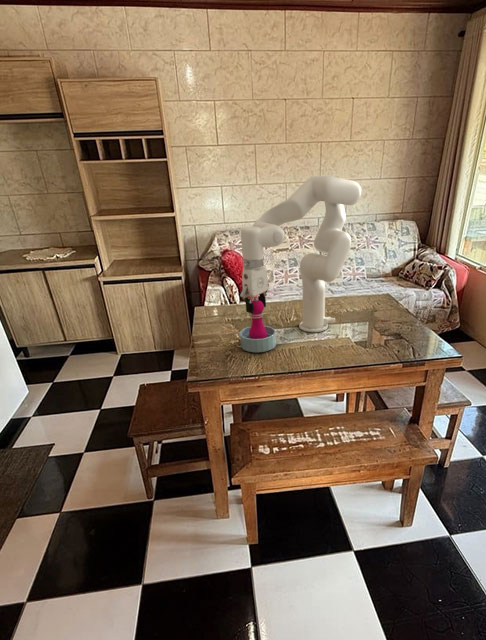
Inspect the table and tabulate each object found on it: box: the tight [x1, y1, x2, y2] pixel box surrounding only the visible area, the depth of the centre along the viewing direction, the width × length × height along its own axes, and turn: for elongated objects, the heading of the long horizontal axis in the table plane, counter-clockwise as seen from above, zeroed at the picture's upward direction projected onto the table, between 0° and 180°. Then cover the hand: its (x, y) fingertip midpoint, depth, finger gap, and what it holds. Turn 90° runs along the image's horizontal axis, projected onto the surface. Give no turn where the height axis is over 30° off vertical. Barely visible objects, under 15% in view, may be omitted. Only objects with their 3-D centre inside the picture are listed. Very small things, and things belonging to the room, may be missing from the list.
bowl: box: [239, 325, 277, 354], centre depth 163 cm, size 14×14×6 cm
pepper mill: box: [249, 296, 267, 339], centre depth 159 cm, size 7×7×20 cm
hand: (256, 309), depth 156 cm, fingers open, 6 cm apart
